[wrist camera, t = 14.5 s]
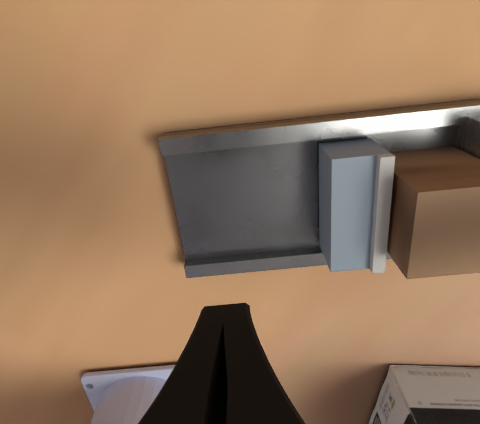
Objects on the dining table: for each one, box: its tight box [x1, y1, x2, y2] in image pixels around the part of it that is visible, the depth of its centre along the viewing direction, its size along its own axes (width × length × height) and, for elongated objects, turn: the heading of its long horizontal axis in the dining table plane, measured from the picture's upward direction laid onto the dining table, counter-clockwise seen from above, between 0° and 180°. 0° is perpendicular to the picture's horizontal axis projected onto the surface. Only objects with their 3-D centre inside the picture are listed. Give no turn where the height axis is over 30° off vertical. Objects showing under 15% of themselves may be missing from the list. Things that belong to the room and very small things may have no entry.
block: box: [387, 146, 480, 279], centre depth 17 cm, size 4×4×5 cm
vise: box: [158, 99, 480, 278], centre depth 18 cm, size 8×17×3 cm, turn 96°
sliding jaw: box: [319, 138, 395, 273], centre depth 17 cm, size 6×2×3 cm, turn 6°
